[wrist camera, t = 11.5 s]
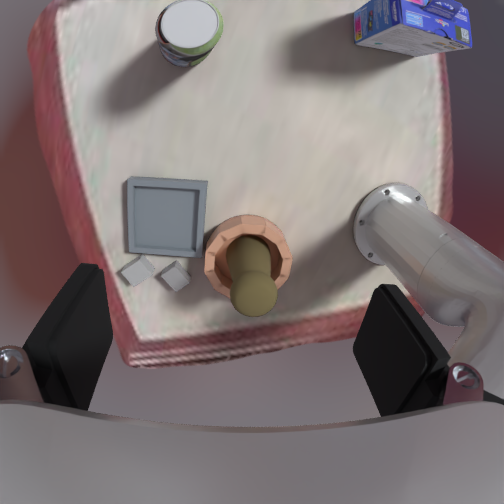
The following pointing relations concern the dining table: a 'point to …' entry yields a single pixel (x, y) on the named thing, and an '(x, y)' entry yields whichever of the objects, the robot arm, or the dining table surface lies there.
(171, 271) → the grey block
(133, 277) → the light grey block
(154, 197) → the tray
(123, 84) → the dining table surface
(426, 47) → the ink cartridge box
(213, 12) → the beverage can
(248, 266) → the olive pestle
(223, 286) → the bowl
